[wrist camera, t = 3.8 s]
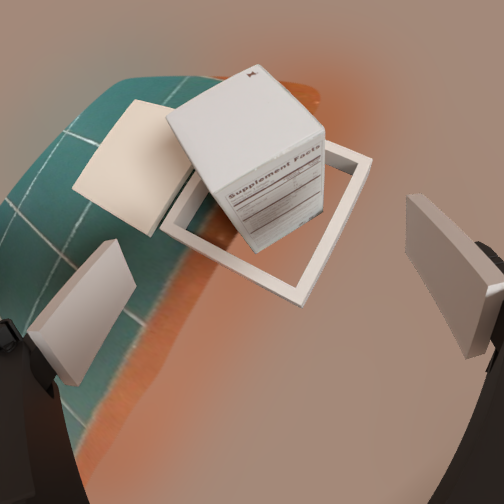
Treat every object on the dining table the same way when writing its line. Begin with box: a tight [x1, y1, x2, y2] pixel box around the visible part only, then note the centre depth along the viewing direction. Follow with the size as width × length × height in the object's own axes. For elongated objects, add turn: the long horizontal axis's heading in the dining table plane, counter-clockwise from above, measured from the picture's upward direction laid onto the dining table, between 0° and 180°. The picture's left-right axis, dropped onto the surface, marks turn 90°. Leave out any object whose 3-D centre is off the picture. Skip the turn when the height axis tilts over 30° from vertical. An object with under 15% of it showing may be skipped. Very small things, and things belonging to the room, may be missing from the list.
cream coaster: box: [72, 100, 194, 237], centre depth 33 cm, size 14×14×1 cm
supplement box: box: [165, 64, 325, 254], centre depth 23 cm, size 7×7×13 cm
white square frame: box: [159, 140, 373, 308], centre depth 28 cm, size 14×14×2 cm
